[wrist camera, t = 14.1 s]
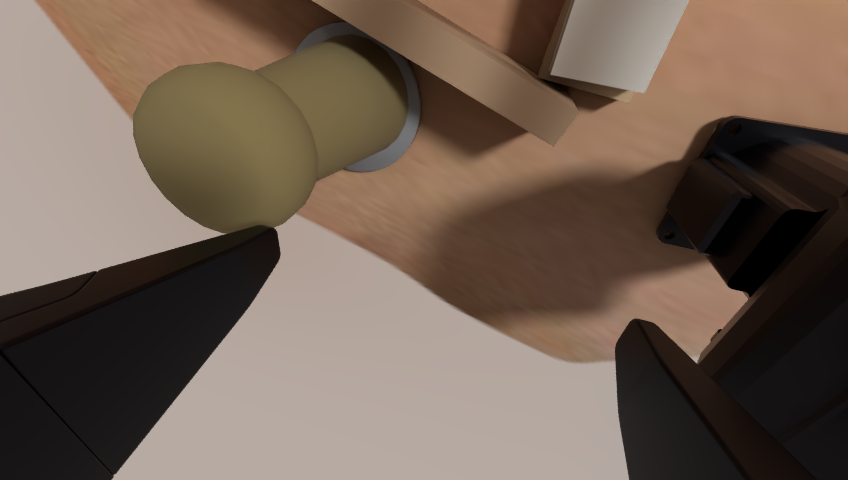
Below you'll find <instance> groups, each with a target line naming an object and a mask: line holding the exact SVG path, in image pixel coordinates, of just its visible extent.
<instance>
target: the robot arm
mask: <svg viewBox="0 0 848 480" xmlns="http://www.w3.org/2000/svg"><path fill="white" fill-rule="evenodd" d="M733 124H738V126H737V129H736V130H735V131H733V132H731V133H728V132H727V131H728V128H729V127H730V126H731V125H733ZM666 208H667V210H668V211H667V213H666V215H665V217H664V218H663V220H662V222H661V223H660V225H659V227H658V228H657V231H656V235H657V237H658V239H659V240H660V241H661V242H663V243H666V244H671V245H676V246H680V247H685V248H689V249H694V250H696V251H697V252H698V253H699V254H703V255H705V256H706V258H707V259H708V260H709V262H710V263H711V264H712V266H713V267H714V268H715V270H716V271H717V272H718V274H719V275H720V276H721V278H722V279H723V280H724V282H725V283H726V285H727V286H728V287H729V288H731V289H734V290H739V291H743V293H744V294H745V295H746V296H747V298H748V299H749V300H748V301H747V302H746V303H745V304H744V305H743V306H742V307H741V309H740V310H739V311H738V312H737V313H736V314H735V315H734V317H733V318H732V319H731V320H730V321H729V322H728V323H727V324H726V326H725V327H724V328H723V329H719V330H718V331H717V332H716V333H715V334H714V335H713V337H712V338H711V342H710V344H709V345H708V346H707V347H706V348H705V349H704V350H703V351H702V353H701V355H700V357H699V360H698V363H695V362H694V361H693V360H692V359H691V358H690V357H689V356H688V355H687V354H686V353H685V352H684V351H683V350H682V349H681V348H680V347H679V346H678V345H677V344H676V343H675V342H674V341H673V340H672V339H670V338H669V337H668V336H667V335H666V334H665V333H664V332H663V331H662V330H661V329H660V328H659V327H658V326H657V325H656V324H654V323H652V322H649V321H645V320H641V319H633V320H631V321H630V322H629V324H628V325H627V327H626V329H625V330H624V332H623V333H622V335H621V336H620V338H619V339H618V341H617V343H616V347H615V361H616V380H617V400H618V401H617V402H618V414H619V421H620V428H621V434H622V439H623V445H624V451H625V457H626V463H627V469H628V475H629V480H848V133H842V132H836V131H830V130H823V129H817V128H811V127H805V126H798V125H792V124H786V123H780V122H774V121H767V120H761V119H755V118H749V117H743V116H730V117H727V118H725V119H724V120H722V121H721V122H720V123H719V125H718V126H717V128H716V130H715V131H714V133H713V135H712V136H711V138H710V140H709V141H708V143H707V145H706V147H705V148H704V150H703V152H702V153H701V155H700V157H699V158H698V159H696V160H695V161H693V162H692V163H691V164H690V166H689V168H688V170H687V171H686V173H685V175H684V177H683V178H682V180H681V182H680V183H679V185H678V187H677V189H676V190H675V192H674V194H673V196H672V197H671V199H670V201H669V202H668V204H667V206H666ZM668 231H673V232H672V233H671V234H670V235H668V236H665V235H664V234H665V233H666V232H668ZM279 259H280V247H279V240H278V234H277V231H276V229H274V228H273V227H269V226H265V225H256V226H253V227H249V228H246V229H242V230H239V231H235V232H232V233H228V234H225V235H221V236H218V237H214V238H210V239H207V240H203V241H200V242H196V243H193V244H189V245H186V246H182V247H179V248H175V249H171V250H168V251H165V252H161V253H157V254H154V255H150V256H147V257H144V258H140V259H136V260H133V261H129V262H126V263H122V264H118V265H115V266H111V267H108V268H104V269H101V270H99V271H98V272H97V271H93V272H90V273H86V274H83V275H79V276H76V277H72V278H68V279H65V280H61V281H57V282H54V283H50V284H46V285H43V286H39V287H35V288H31V289H27V290H23V291H18V292H14V293H10V294H6V295H3V296H0V480H111V479H112V478H113V477H114V474H116V473H117V472H118V471H119V469H120V468H121V467H122V465H123V464H124V463H125V462H126V460H127V459H128V458H129V457H130V455H131V454H132V453H133V452H134V451H135V449H136V448H137V447H138V445H139V444H140V443H141V442H142V441H143V439H144V438H145V437H146V435H147V434H148V433H149V432H150V430H151V429H152V428H153V427H154V425H155V424H156V423H157V422H158V420H159V419H160V418H161V417H162V415H163V414H164V413H165V411H166V410H167V409H168V408H169V407H170V405H171V404H172V403H173V401H174V400H175V399H176V398H177V397H178V395H179V394H180V393H181V392H182V390H183V389H184V388H185V387H186V385H187V384H188V383H189V382H190V380H191V379H192V378H193V377H194V375H195V374H196V373H197V372H198V370H199V369H200V368H201V366H202V365H203V364H204V363H205V362H206V360H207V359H208V358H209V357H210V355H211V354H212V353H213V352H214V350H215V349H216V348H217V347H218V345H219V344H220V343H221V342H222V340H223V339H224V338H225V337H226V335H227V334H228V333H229V332H230V330H231V329H232V328H233V327H234V325H235V324H236V323H237V322H238V320H239V319H240V318H241V316H242V315H243V314H244V313H245V311H246V310H247V309H248V307H249V306H250V305H251V303H252V302H253V300H254V299H255V297H256V296H257V294H258V293H259V291H260V289H261V288H262V286H263V285H264V283H265V282H266V280H267V279H268V277H269V275H270V274H271V272H272V271H273V269H274V268H275V266H276V264H277V263H278V261H279Z"/></svg>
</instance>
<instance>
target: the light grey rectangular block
mask: <svg viewBox="0 0 848 480" xmlns="http://www.w3.org/2000/svg"><path fill="white" fill-rule="evenodd" d="M688 2H689V0H565V2H564V5H563V8H562V10H561V13H560V16H559V18H558V21H557V24H556V26H555V29H554V32H553V34H552V37H551V40H550V42H549V45H548V47H547V50H546V53H545V55H544V58H543V61H542V63H541V66H540V69H539V71H538V78H541V79H545V80H549V81H552V82H556V83H559V84H563V85H566V86H570V87H573V88H577V89H580V90H584V91H587V92H591V93H594V94H598V95H602V96H605V97H609V98H612V99H616V100H619V101H623V102H626V103H629V101H630V99H631V97H632V95H633V93H634V92H640V93H645V91H646V89H647V87H648V85H649V83H650V81H651V79H652V76H653V74H654V72H655V70H656V68H657V66H658V64H659V62H660V60H661V58H662V56H663V54H664V52H665V50H666V47H667V45H668V43H669V41H670V39H671V37H672V35H673V33H674V31H675V29H676V27H677V25H678V23H679V21H680V19H681V16H682V14H683V12H684V10H685V8H686V6H687V4H688Z"/></svg>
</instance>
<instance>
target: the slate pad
mask: <svg viewBox="0 0 848 480" xmlns="http://www.w3.org/2000/svg"><path fill="white" fill-rule="evenodd" d="M347 34H354V35H357V36H361V37H364V38H368V39H370V40H372V41H373V42H375V43H376V44H377V45H379V46H380V47H382V48H383V49H385V50H386V51H387V52H388V54H389V55H390V56H391V58H392V59H393V60H394V61H395V63H396V64H397V65H398V67H399V69H400V71H401V74H402V76H403V79H404V81H405V84H406V86H407V94H408V103H409V108H408V113H407V119H406V124H405V126H404V128H403V130H402V131H401V133H400V135H399V137H398V139H397V140H395V141H394V142H393V143H392V144H391V145H390V146H389V147H388V148H386V149H384V150H382V151H380V152H378V153H376V154H374V155H371V156H369V157H367V158H365V159H363V160H361V161H359V162H356V163H354V164H352V165H350V166H348V167H346V168H345V169H349V170H353V171H359V172H369V171H376V170H379V169H382V168H385V167H387V166H389V165H391V164H392V163H394V162H395V161H397V160H398V159H399V158H400V157H401V156H402V155H403V154H404V153H405V152H406V151H407V149H408V148H409V147H410V145H411V144H412V142H413V140H414V138H415V136H416V134H417V131H418V127H419V124H420V118H421V96H420V91H419V86H418V82H417V79H416V76H415V74H414V72H413V69H412V67H411V65H410V63H409V62H408V60H407V58H406V57H404V56H403V55H401V54H399V53H398V52H396V51H394V50H393V49H391V48H389V47H388V46H386V45H385V44H383V43H381V42H380V41H378V40H376V39H375V38H373V37H371V36H370V35H368V34H366V33H365V32H363V31H361V30H360V29H358V28H356V27H355V26H353V25H351V24H350V23H348V22H338V23H331V24H327V25H324V26H322V27H320V28H318V29H316V30H314V31H313V32H311V33H310V34H309V35H308V36H307V37H306V38H305V39H304V40H303V41H302V42H301V43H300V45H299V46H298V48H297V49H296V52H299V51H301V50H303V49H306V48H308V47H310V46H312V45H315V44H317V43H319V42H322V41H324V40H326V39H328V38H331V37H333V36H338V35H347ZM296 52H295V53H296Z"/></svg>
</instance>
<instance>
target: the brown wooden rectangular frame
mask: <svg viewBox="0 0 848 480" xmlns="http://www.w3.org/2000/svg"><path fill="white" fill-rule="evenodd" d="M312 1H313V2H315V3H317V4H318V5H320V6H322V7H323V8H325V9H327V10H328V11H330V12H332V13H333V14H335V15H337V16H338V17H340V18H342V19H343V20H345V21H346V22H348V23H350V24H351V25H353V26H355V27H356V28H358V29H360V30H361V31H363V32H365V33H366V34H368V35H370V36H371V37H373V38H375V39H376V40H378V41H380V42H381V43H383V44H385V45H386V46H388V47H389V48H391V49H393V50H394V51H396V52H398V53H399V54H401V55H403V56H404V57H406V58H408V59H409V60H411V61H413V62H414V63H416V64H418V65H419V66H421V67H423V68H424V69H426V70H428V71H429V72H431V73H432V74H434V75H436V76H437V77H439V78H441V79H442V80H444V81H446V82H447V83H449V84H451V85H452V86H454V87H456V88H457V89H459V90H461V91H462V92H464V93H466V94H467V95H469V96H471V97H472V98H474V99H475V100H477V101H479V102H480V103H482V104H484V105H485V106H487V107H489V108H490V109H492V110H494V111H495V112H497V113H499V114H500V115H502V116H504V117H505V118H507V119H509V120H510V121H512V122H514V123H515V124H517V125H518V126H520V127H522V128H523V129H525V130H527V131H528V132H530V133H532V134H533V135H535V136H537V137H538V138H540V139H542V140H543V141H545V142H547V143H548V144H550V145H552V146H554V145H555V144H556V142H557V141H558V140H559V139H560V137H561V136H562V135H563V133H564V132H565V131H566V129H567V128H568V127H569V126H570V124H571V123H572V122H573V120H574V119H575V118H576V116H577V115H578V114H579V111H578V110H577V108H576V106H575V104H574V102H573V100H572V98H571V96H570V94H568V93H567V92H565V91H563V90H562V89H560V88H559V87H557V86H555V85H554V84H552V83H550V82H549V81H547V80H545V79H541V78H538V75H537V74H536V73H534V72H533V71H531V70H529V69H528V68H526V67H524V66H523V65H521V64H520V63H518V62H516V61H515V60H513V59H511V58H510V57H508V56H507V55H505V54H503V53H502V52H500V51H498V50H497V49H495V48H494V47H492V46H490V45H489V44H487V43H485V42H484V41H482V40H481V39H479V38H477V37H476V36H474V35H472V34H471V33H469V32H468V31H466V30H464V29H463V28H461V27H459V26H458V25H456V24H455V23H453V22H451V21H450V20H448V19H446V18H445V17H443V16H442V15H440V14H438V13H437V12H435V11H434V10H432V9H430V8H429V7H427V6H425V5H424V4H422V3H421V2H419V1H417V0H312Z"/></svg>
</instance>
